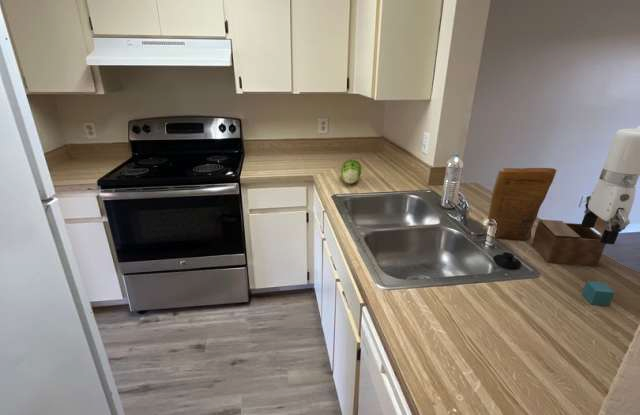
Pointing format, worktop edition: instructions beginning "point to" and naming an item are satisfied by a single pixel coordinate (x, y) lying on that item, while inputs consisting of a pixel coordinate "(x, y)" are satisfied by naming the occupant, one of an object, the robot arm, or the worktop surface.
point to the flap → (601, 225)
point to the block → (598, 293)
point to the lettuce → (351, 171)
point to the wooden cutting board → (518, 200)
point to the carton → (567, 243)
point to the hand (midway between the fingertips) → (596, 234)
